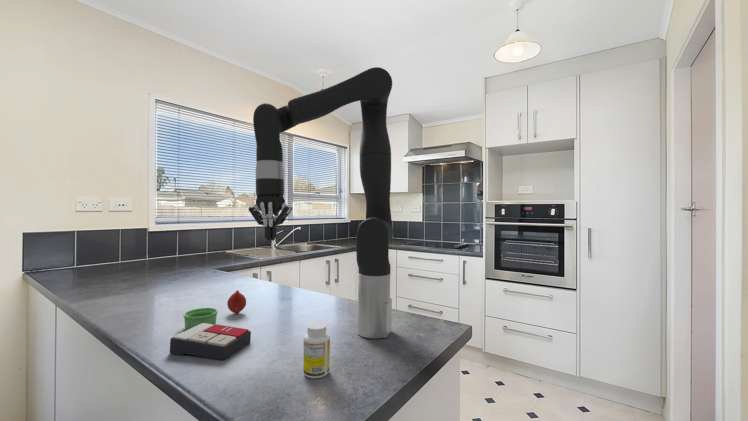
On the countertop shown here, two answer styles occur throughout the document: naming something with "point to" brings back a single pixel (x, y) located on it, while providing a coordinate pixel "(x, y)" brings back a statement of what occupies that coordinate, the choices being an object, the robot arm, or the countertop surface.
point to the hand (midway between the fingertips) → (270, 240)
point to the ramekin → (200, 317)
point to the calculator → (210, 341)
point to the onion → (236, 302)
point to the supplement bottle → (316, 351)
